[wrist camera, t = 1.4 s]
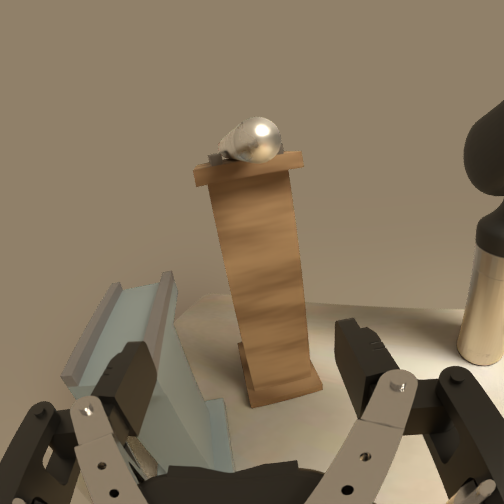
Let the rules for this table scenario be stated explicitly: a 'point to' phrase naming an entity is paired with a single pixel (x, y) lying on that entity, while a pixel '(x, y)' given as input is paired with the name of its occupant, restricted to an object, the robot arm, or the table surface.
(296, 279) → the stand
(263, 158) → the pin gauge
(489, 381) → the table surface
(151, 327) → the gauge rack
